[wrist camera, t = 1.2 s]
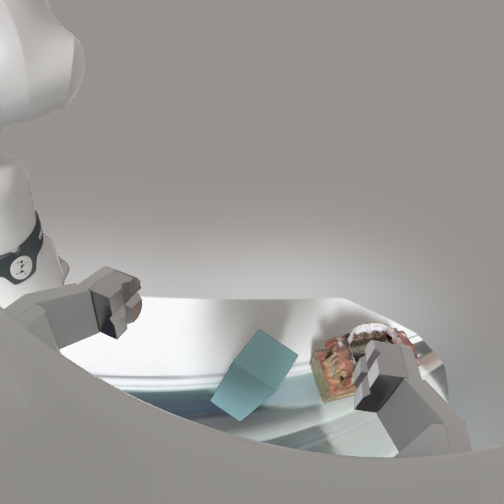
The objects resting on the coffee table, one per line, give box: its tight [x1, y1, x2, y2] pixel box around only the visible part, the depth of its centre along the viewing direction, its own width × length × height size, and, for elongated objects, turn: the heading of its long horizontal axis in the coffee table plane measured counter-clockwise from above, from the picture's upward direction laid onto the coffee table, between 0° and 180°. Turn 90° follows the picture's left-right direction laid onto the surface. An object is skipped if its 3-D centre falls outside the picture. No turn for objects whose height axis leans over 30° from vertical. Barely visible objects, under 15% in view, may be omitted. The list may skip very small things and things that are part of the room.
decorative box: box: [310, 323, 421, 403], centre depth 41 cm, size 13×20×10 cm, turn 94°
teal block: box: [211, 329, 298, 421], centre depth 30 cm, size 5×5×14 cm
